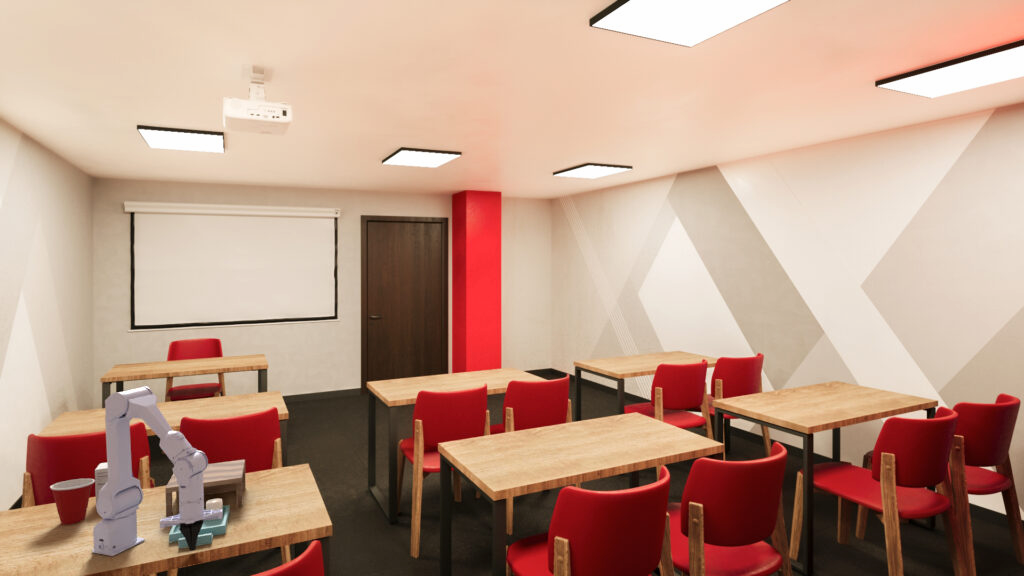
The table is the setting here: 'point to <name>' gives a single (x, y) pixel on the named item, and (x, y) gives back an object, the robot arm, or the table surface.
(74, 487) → the plastic cup
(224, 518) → the tray
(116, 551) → the robot arm
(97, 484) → the supplement box
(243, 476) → the walnut shelf
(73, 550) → the table surface
